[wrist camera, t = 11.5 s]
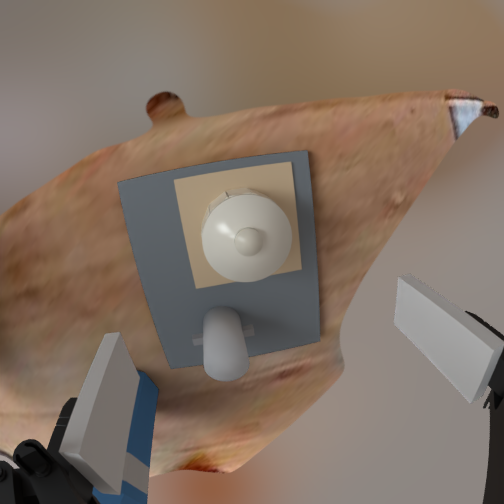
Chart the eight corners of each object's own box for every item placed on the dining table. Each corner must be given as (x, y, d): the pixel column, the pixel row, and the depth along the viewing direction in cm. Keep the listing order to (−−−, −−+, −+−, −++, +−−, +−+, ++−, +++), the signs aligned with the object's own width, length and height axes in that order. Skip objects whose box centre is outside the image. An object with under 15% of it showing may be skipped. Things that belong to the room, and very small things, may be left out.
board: (171, 363, 37) (166, 413, 28) (120, 181, 29) (88, 192, 20) (317, 336, 39) (342, 379, 30) (303, 150, 31) (338, 150, 22)
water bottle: (117, 354, 36) (70, 520, 12) (171, 389, 38) (165, 551, 15) (89, 386, 37) (47, 526, 13) (139, 416, 40) (123, 555, 16)
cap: (187, 222, 30) (182, 237, 25) (248, 172, 29) (257, 176, 24) (235, 277, 33) (241, 302, 27) (293, 231, 32) (311, 248, 27)
